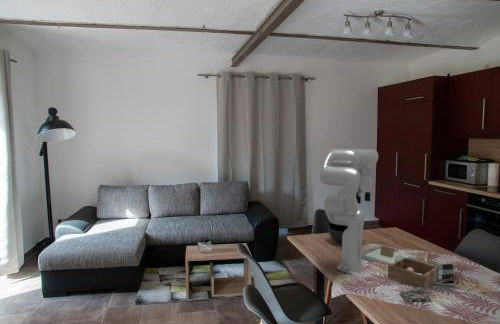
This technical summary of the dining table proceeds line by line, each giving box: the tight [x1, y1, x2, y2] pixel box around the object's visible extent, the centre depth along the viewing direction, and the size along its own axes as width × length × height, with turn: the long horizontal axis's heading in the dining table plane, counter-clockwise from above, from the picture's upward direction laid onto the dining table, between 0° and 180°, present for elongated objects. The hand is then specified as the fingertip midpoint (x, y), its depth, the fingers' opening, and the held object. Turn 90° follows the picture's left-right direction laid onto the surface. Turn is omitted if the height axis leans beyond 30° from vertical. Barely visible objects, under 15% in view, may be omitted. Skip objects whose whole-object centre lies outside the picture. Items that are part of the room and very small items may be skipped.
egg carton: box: [399, 287, 432, 305], centre depth 136 cm, size 11×8×4 cm
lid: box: [364, 244, 411, 265], centre depth 181 cm, size 17×17×6 cm
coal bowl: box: [327, 221, 348, 245], centre depth 206 cm, size 20×20×19 cm
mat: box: [362, 247, 417, 263], centre depth 182 cm, size 22×22×1 cm
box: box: [387, 257, 440, 291], centre depth 153 cm, size 16×16×7 cm
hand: (362, 202), depth 185 cm, fingers open, 9 cm apart
